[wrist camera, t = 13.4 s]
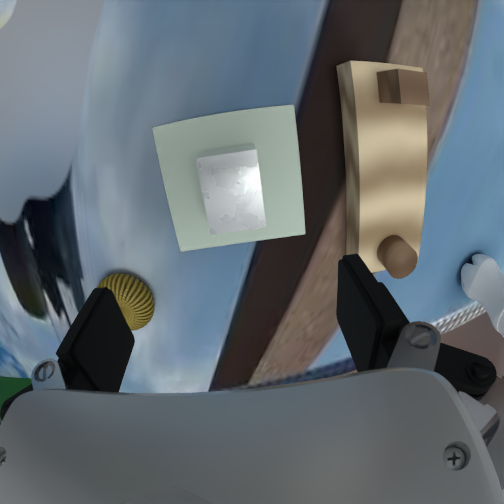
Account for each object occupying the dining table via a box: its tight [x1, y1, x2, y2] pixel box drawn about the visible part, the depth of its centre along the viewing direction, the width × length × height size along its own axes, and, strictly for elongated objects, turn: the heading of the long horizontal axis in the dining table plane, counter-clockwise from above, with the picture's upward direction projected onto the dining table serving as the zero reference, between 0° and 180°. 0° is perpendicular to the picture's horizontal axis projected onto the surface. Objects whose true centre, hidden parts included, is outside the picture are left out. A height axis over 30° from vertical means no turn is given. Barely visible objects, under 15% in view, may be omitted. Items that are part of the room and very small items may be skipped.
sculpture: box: [97, 273, 154, 331], centre depth 34 cm, size 8×4×8 cm
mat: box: [152, 105, 305, 252], centre depth 29 cm, size 14×14×1 cm
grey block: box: [196, 143, 266, 235], centre depth 27 cm, size 7×5×5 cm
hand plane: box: [336, 61, 430, 279], centre depth 25 cm, size 22×8×8 cm, turn 8°
